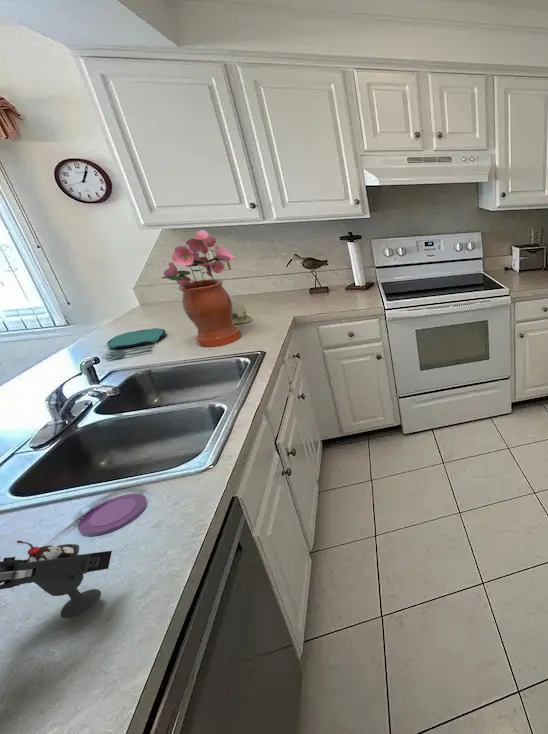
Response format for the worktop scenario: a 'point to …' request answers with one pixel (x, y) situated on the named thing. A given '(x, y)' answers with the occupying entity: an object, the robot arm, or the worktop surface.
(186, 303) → the potted flower
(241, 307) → the ceramic model
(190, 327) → the worktop surface
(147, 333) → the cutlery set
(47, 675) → the worktop surface
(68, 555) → the sundae
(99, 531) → the plum plate
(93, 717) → the worktop surface
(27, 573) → the robot arm
